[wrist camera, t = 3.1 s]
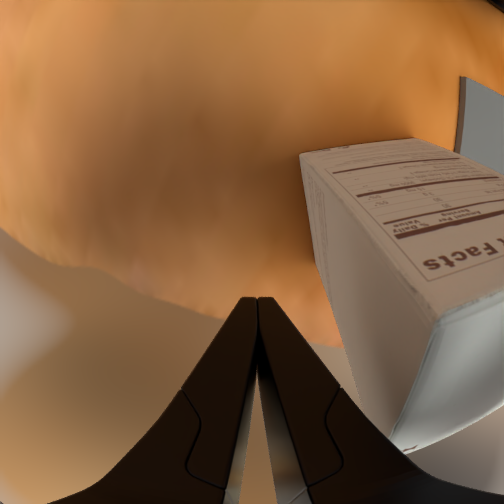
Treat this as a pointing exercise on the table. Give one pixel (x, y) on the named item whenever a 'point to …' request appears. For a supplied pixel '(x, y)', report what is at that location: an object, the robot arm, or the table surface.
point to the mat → (481, 125)
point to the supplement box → (413, 281)
